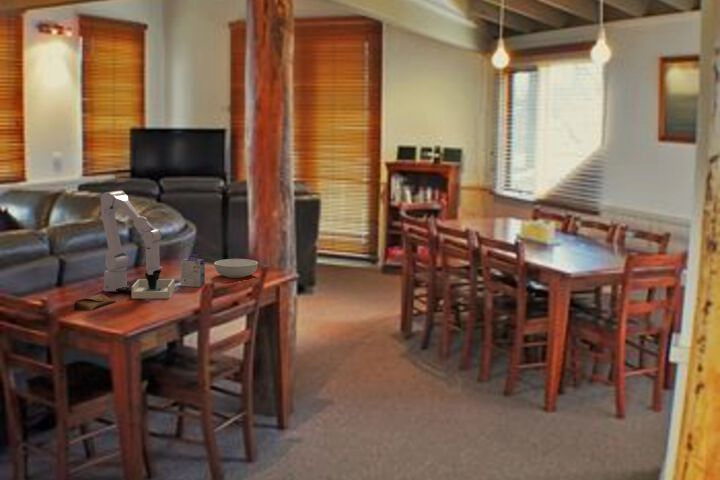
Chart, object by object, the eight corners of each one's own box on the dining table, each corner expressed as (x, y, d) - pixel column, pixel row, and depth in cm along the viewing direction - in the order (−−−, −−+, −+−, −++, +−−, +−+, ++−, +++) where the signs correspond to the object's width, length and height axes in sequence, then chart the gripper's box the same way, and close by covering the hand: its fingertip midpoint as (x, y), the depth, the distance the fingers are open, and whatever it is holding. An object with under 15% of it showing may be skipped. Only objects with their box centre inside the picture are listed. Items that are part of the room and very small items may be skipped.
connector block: (147, 295, 377) (147, 281, 376) (149, 293, 381) (149, 279, 380) (157, 295, 377) (156, 281, 376) (158, 293, 381) (158, 279, 380)
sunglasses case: (91, 311, 348) (83, 296, 348) (79, 318, 351) (71, 303, 351) (117, 301, 365) (110, 287, 365) (105, 308, 368) (98, 294, 368)
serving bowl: (265, 277, 416) (265, 263, 415) (225, 282, 404) (225, 268, 403) (246, 270, 433) (245, 256, 432) (207, 274, 421) (206, 260, 420)
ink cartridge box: (205, 285, 398) (205, 254, 396) (201, 287, 393) (200, 256, 391) (185, 283, 400) (184, 253, 398) (180, 286, 395) (179, 255, 393)
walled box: (131, 298, 371) (131, 287, 370) (138, 290, 386) (138, 279, 386) (169, 298, 372) (169, 286, 371) (174, 290, 387) (174, 279, 387)
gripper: (159, 260, 369) (160, 291, 372) (164, 254, 384) (165, 284, 386) (142, 260, 369) (143, 291, 371) (148, 254, 383) (149, 284, 385)
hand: (153, 287), depth 379 cm, fingers open, 5 cm apart
